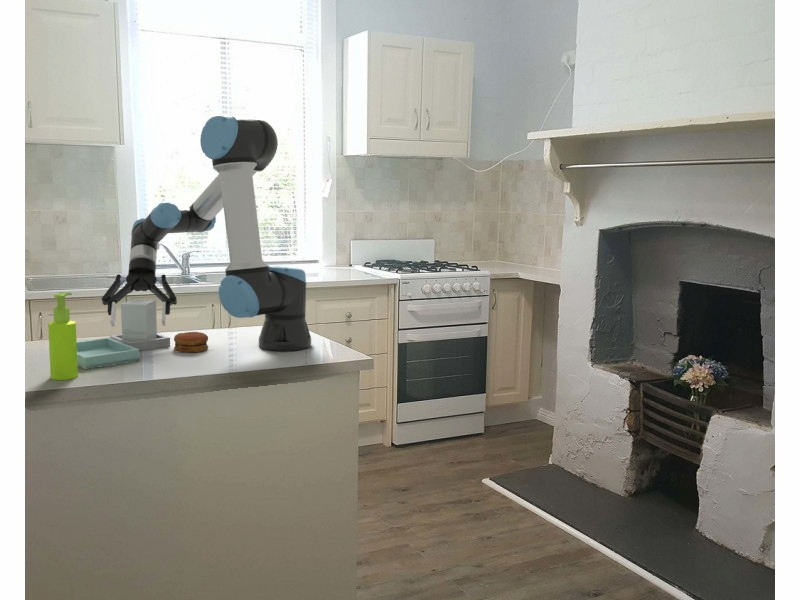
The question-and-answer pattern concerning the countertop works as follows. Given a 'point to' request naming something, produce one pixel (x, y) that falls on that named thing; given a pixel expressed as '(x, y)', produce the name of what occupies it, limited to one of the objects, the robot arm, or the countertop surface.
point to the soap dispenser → (62, 342)
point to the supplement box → (139, 320)
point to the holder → (145, 342)
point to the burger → (191, 342)
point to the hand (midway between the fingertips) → (138, 323)
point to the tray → (104, 353)
